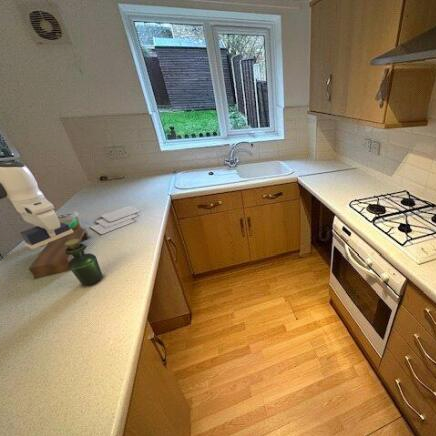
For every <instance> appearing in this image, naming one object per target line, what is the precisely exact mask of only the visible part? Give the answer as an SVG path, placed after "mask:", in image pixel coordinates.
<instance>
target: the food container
mask: <svg viewBox="0 0 436 436" xmlns="http://www.w3.org/2000/svg"><path fill="white" fill-rule="evenodd" d="M57 218H58V220H59V222H60V223H64V224H67V225H68V226H69V227H70V229H72V230H73V231H75V230H80V229H82V225H81V223H80V219H79V212H77V211H76V210H75V211H74V212H73V213H68V214H61V215H58V216H57Z"/></svg>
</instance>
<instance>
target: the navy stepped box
mask: <svg viewBox="0 0 436 436" xmlns="http://www.w3.org/2000/svg"><path fill="white" fill-rule="evenodd" d="M54 232H55V234H56V236H53V237H50V236H48V234H47V233H48V232H47V230H46V229H44V228H41V227H38V226H37V227H35V226H34V227H32V228H31V227H30V228H28V229H26V230H23V231H20V232H19V234H20V236H21V238H22V239H23V240H24V242H23V244H24V245H25V247H28V248H29V249H31V250H34V249H36V248H39V247H41V246H44V245H47V244H48V243H49V242H51V241H54V240H56V239H58V238H61V237H63V236H66V235H68V234H70V233H73V230H72V229H70V227H69V226H68V225H67V224H64V223H60V228H58V229H55V230H54Z"/></svg>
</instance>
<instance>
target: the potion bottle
mask: <svg viewBox="0 0 436 436" xmlns="http://www.w3.org/2000/svg"><path fill="white" fill-rule="evenodd" d="M65 245H66V246H67V247H68V248H67V249H66V250H65V251H66V254H67V255H72V257H73V258H71V259H70V261H69V265H68V267H69V268H70V269H71V270H70V271H71V272H72V274H73V275H74V276H75V277H76V279H77V280H78V281H79V283H80V284H81V285H82V286H83V287H91V286H95V285H97V284H98V283H100V282H102V279H103V278H104V277H103V276H104V275H103V273H102V270H101V267H100V264H99V261H98V258H97V256H96V255H95V254H93V253H85V250H86V249H87V245H85V244H84V243H82V242H80V243H79V240H78V239H73V240H70V241H68V242H66V243H65Z"/></svg>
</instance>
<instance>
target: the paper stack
mask: <svg viewBox="0 0 436 436" xmlns="http://www.w3.org/2000/svg"><path fill="white" fill-rule="evenodd" d="M139 212H141V209H138V208H136V207H134V206H132V205H127V206H125V207H122V208H119V209H116V210H113V211H109V212H107V213H103V214H100V217H101V218H100V219H98V220H96V221H95V222H96V223H98V224H95V225H92V226H90V228H91V229H93V230H94V231H95V232H96V233H98V234H100V235H103V234H106V233H109V232H112V231H114V230H117V229H119V228H122V227H124V226H126V225H129V224H132V223H134V222H135V220H133V219H134V218H136V217H138V216H139V215H138V214H136V213H139Z"/></svg>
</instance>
